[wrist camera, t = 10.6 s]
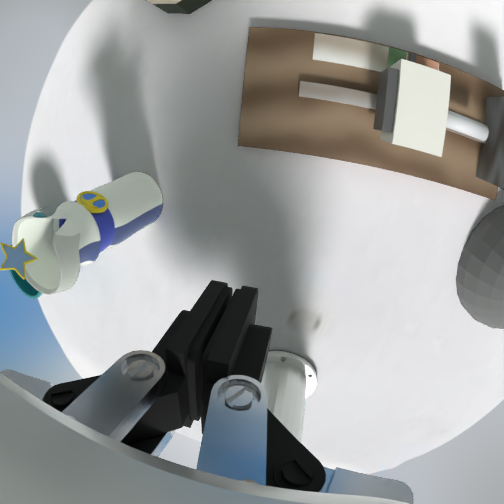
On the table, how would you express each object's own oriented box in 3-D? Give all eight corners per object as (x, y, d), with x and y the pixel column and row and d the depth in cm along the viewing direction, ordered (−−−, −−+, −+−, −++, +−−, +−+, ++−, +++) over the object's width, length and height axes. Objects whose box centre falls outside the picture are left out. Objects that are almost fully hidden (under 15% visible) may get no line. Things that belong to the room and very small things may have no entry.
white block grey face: (468, 165, 26) (490, 173, 21) (370, 138, 27) (381, 141, 23) (477, 79, 21) (500, 75, 17) (380, 45, 23) (391, 32, 18)
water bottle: (123, 157, 36) (-38, 217, 14) (173, 187, 37) (19, 281, 15) (106, 207, 40) (-31, 290, 18) (151, 237, 41) (24, 349, 18)
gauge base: (487, 196, 29) (530, 221, 20) (241, 144, 33) (215, 153, 24) (502, 94, 23) (549, 93, 14) (253, 32, 27) (230, 1, 18)
